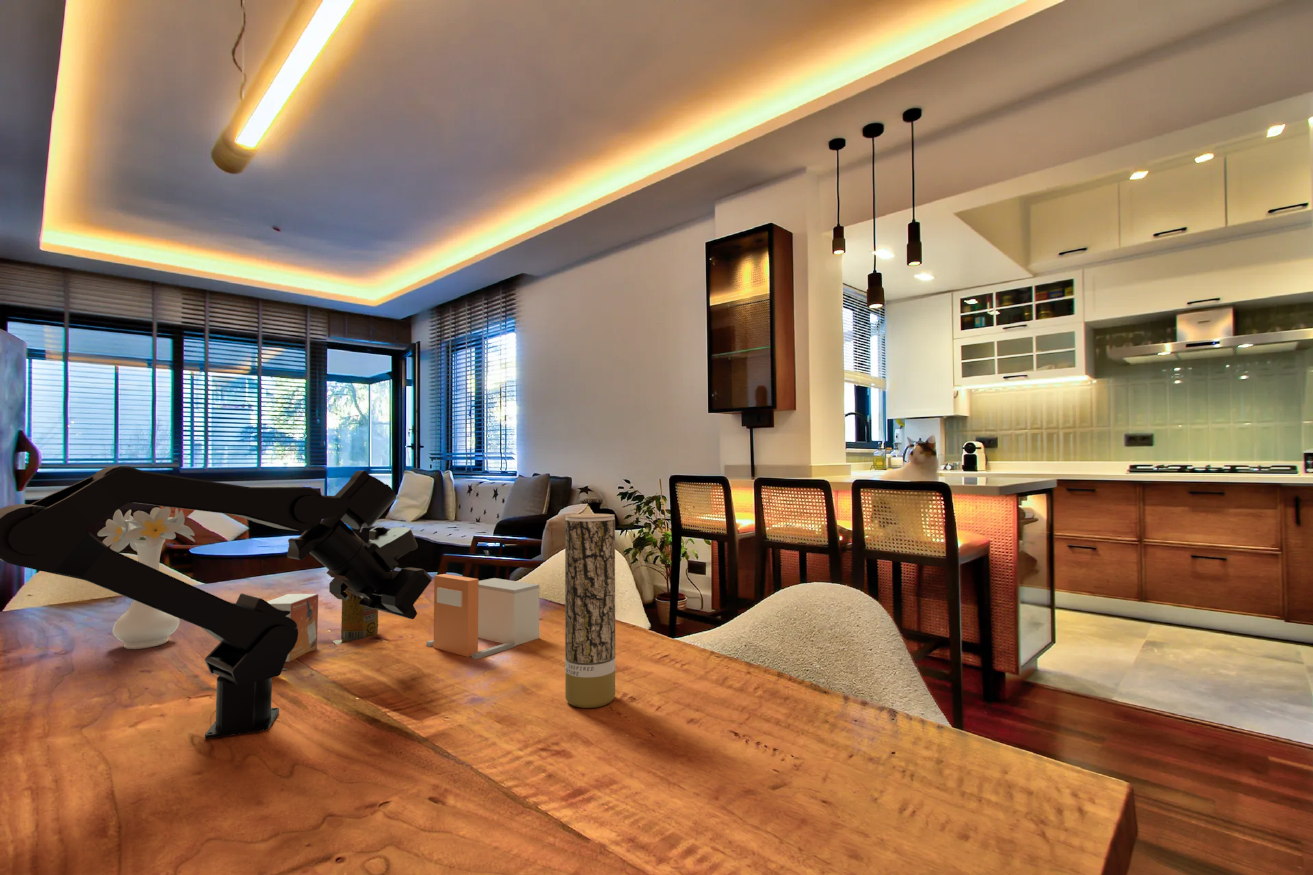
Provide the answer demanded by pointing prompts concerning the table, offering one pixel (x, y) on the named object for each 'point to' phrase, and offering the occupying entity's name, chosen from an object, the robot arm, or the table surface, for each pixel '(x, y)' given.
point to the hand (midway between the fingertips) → (414, 616)
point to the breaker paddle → (456, 614)
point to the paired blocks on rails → (506, 614)
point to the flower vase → (144, 536)
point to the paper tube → (589, 609)
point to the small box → (301, 620)
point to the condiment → (357, 620)
